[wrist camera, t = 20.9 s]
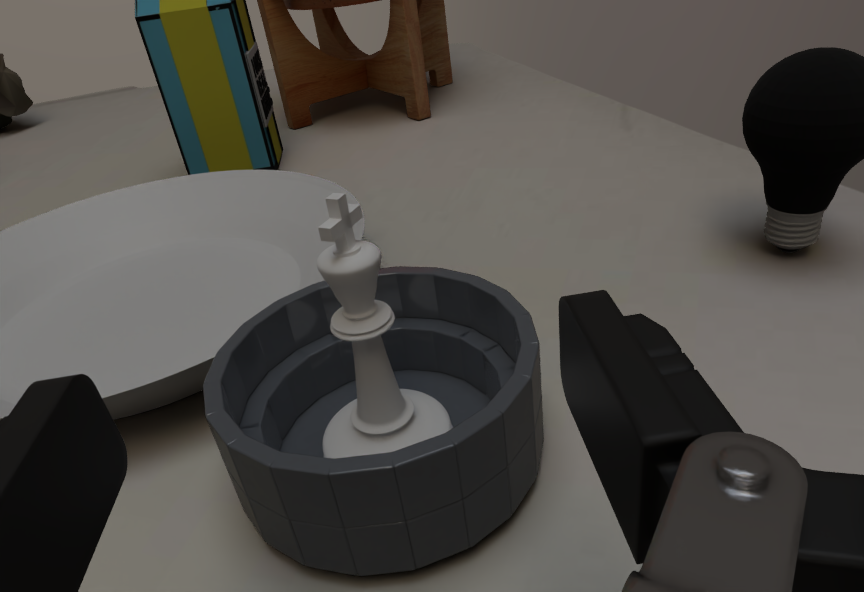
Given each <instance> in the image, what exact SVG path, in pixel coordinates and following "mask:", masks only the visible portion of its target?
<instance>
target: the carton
mask: <svg viewBox="0 0 864 592" xmlns="http://www.w3.org/2000/svg"><path fill="white" fill-rule="evenodd" d="M135 19H136V21H137V25H138V28H139V31H140V33H141V37H142V39H143V42H144V45H145V48H146V51H147V54H148V57H149V60H150V63H151V66H152V69H153V72H154V74H155V78H156V81H157V84H158V87H159V90H160V93H161V96H162V99H163V101H164V104H165V107H166V110H167V113H168V116H169V119H170V122H171V125H172V128H173V131H174V134H175V137H176V140H177V143H178V146H179V149H180V152H181V155H182V158H183V161H184V164H185V166H186V169H187V172H188V175H192V174H200V173H208V172H218V171H231V170H278V166H279V163H280V159H281V155H282V151H283V147H282V143H281V139H280V135H279V131H278V127H277V123H276V120H275V116H274V112H273V101H272V98H271V97H270V93H269V92H270V89H269V87H268V84H267V81H266V77H265V73H264V70H263V66H262V61H261V58H260V54H259V50H258V46H257V43H256V40H255V36H254V32H253V29H252V25H251V21H250V17H249V13H248V9H247V5H246V1H245V0H135Z"/></svg>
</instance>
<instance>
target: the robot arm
mask: <svg viewBox="0 0 864 592" xmlns="http://www.w3.org/2000/svg"><path fill="white" fill-rule="evenodd" d="M559 334H560V368H561V378H562V384H563V389H564V393H565V397H566V400H567V403H568V406H569V408H570V410H571V413H572V415H573V417H574V420H575V422H576V424H577V427H578V429H579V431H580V434H581V436H582V438H583V441H584V443H585V445H586V448H587V450H588V452H589V455H590V457H591V459H592V461H593V464H594V466H595V468H596V471H597V473H598V475H599V478H600V480H601V482H602V485H603V487H604V489H605V492H606V494H607V496H608V499H609V501H610V503H611V506H612V508H613V510H614V513H615V515H616V517H617V520H618V522H619V524H620V526H621V529H622V531H623V533H624V536H625V538H626V540H627V543H628V545H629V547H630V550H631V552H632V554H633V557H634V559H635V561H636V564H642V563H643V565H642V568H641V570H640V571H639V572H636V571H633V572H632V573H631V574H630V575H629V577H628V579H627V581H626V583H625V585H624V587H623V590H622V592H864V475H858V474H847V473H835V472H824V471H817V470H810V469H806V468H802V467H801V466H800V465H799V463H798V462H797V461H796V460H795V459H794V458H793V457H792V456H791V455H790V454H789V453H788V452H787V451H785V450H784V449H783V448H781V447H779V446H778V445H776V444H774V443H773V442H770V441H768V440H766V439H764V438H761V437H758V436H755V435H751V434H746V433H744V432H743V431H742V429H741V428H740V427H739V425H738V424H737V423H736V421H735V420H734V419H733V417H732V416H731V415H730V413H729V412H728V411H727V409H726V408H725V407H724V405H723V404H722V403H721V401H720V400H719V399H718V397H717V396H716V395H715V393H714V392H713V391H712V389H711V388H710V387H709V385H708V384H707V383H706V381H705V380H704V379H703V377H702V376H701V375H700V373H699V372H698V371H697V370H694V365H693V364H692V363H691V361H690V360H689V359H688V357H687V356H686V355H685V353H682V351H681V348H680V347H679V345H678V344H677V342H676V341H675V340H674V338H673V337H672V336H671V334H670V333H669V332H668V330H667V329H666V328H664V327H663V326H661V325H659V324H658V323H656V322H654V321H653V320H651V319H649V318H648V317H646V316H644V315H643V314H635V315H629V316H623V315H622V313H621V312H620V310H619V309H618V307H617V306H616V304H615V303H614V301H613V300H612V298H611V297H610V295H609V294H608V293H607V291H605V290H600V291H594V292H588V293H582V294H575V295H569V296H563V297H561V298H560V301H559ZM126 471H127V451H126V446H125V443H124V440H123V438H122V436H121V434H120V432H119V430H118V428H117V426H116V425H115V423H114V421H113V419H112V417H111V415H110V413H109V411H108V409H107V407H106V405H105V403H104V401H103V399H102V397H101V395H100V393H99V391H98V390H97V388H96V386H95V384H94V382H93V381H92V380H91V378H89V377H88V376H87V375H85V374H77V375H71V376H65V377H59V378H52V379H46V380H40V381H36V382H33V383H32V384H31V385H30V386H29V387H28V388H27V390H26V391H25V392H24V394H23V395H22V397H21V398H20V400H19V401H18V402H17V404H16V405H15V407H14V408H13V410H12V411H11V413H10V414H9V415H8V416H5V417H4V418H2V419H1V420H0V592H78V590H79V588H80V585H81V583H82V580H83V578H84V575H85V573H86V571H87V568H88V566H89V563H90V561H91V559H92V556H93V554H94V551H95V549H96V546H97V544H98V542H99V539H100V537H101V534H102V532H103V529H104V527H105V525H106V522H107V520H108V517H109V515H110V512H111V510H112V508H113V505H114V503H115V500H116V498H117V496H118V493H119V491H120V488H121V486H122V483H123V481H124V478H125V476H126Z"/></svg>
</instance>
